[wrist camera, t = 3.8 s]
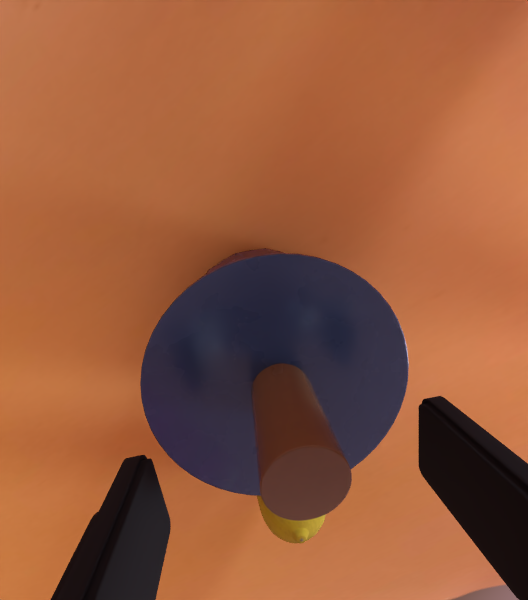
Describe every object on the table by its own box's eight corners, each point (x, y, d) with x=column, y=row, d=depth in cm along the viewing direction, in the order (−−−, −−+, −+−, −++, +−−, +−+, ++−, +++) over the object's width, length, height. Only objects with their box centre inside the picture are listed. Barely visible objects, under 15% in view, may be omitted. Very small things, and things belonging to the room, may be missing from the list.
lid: (90, 345, 13) (-38, 447, 7) (328, 196, 12) (416, 164, 6) (239, 513, 16) (240, 678, 10) (431, 403, 15) (551, 512, 9)
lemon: (318, 457, 27) (352, 550, 19) (267, 480, 27) (279, 581, 19) (298, 414, 25) (326, 496, 17) (243, 438, 25) (247, 529, 18)
